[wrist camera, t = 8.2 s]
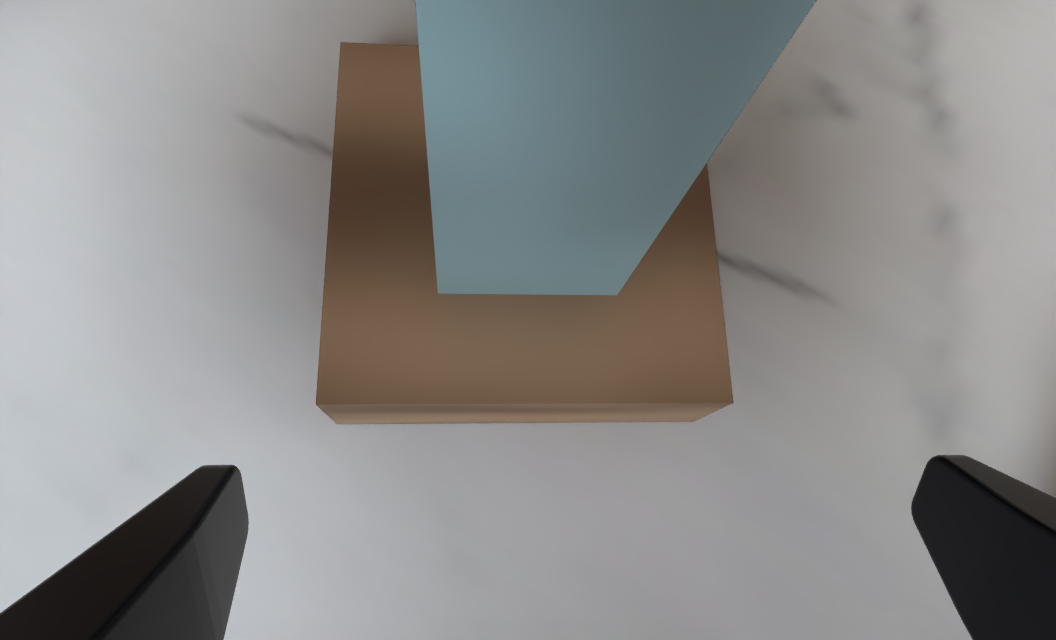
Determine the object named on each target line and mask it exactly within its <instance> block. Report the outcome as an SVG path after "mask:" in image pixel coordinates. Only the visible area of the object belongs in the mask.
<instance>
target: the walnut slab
mask: <svg viewBox="0 0 1056 640" xmlns="http://www.w3.org/2000/svg"><path fill="white" fill-rule="evenodd" d="M732 403H733V395H732V386H731V377H730V368H729V359H728V350H727V341H726V332H725V323H724V314H723V305H722V296H721V287H720V278H719V269H718V260H717V251H716V242H715V233H714V224H713V215H712V206H711V197H710V188H709V179H708V170H707V163H706V164H705V166H704V167H703V169H702V170H701V172H700V173H699V175H698V176H697V178H696V179H695V181H694V182H693V184H692V185H691V187H690V188H689V190H688V191H687V193H686V194H685V196H684V197H683V198H682V200H681V201H680V203H679V204H678V206H677V207H676V209H675V210H674V212H673V213H672V215H671V216H670V218H669V219H668V221H667V222H666V224H665V225H664V227H663V228H662V230H661V231H660V232H659V234H658V235H657V237H656V238H655V240H654V241H653V243H652V244H651V246H650V247H649V249H648V250H647V252H646V253H645V255H644V256H643V258H642V259H641V261H640V262H639V264H638V265H637V266H636V268H635V269H634V271H633V272H632V274H631V275H630V277H629V278H628V280H627V281H626V283H625V284H624V286H623V287H622V289H621V290H620V292H619V293H618V295H525V294H438V288H437V275H436V262H435V249H434V236H433V223H432V210H431V197H430V184H429V171H428V159H427V146H426V133H425V120H424V107H423V94H422V81H421V68H420V55H419V46H409V45H388V44H367V43H346V42H341V46H340V61H339V75H338V90H337V104H336V119H335V133H334V148H333V162H332V177H331V191H330V206H329V220H328V235H327V250H326V264H325V279H324V293H323V308H322V322H321V337H320V351H319V366H318V380H317V395H316V405H317V406H318V407H319V408H320V409H321V410H322V411H323V412H324V413H326V414H327V415H328V416H329V417H330V418H331V419H332V420H333V421H334V422H335V423H337V424H420V423H556V422H692V421H695V420H698V419H700V418H702V417H704V416H706V415H708V414H710V413H712V412H715V411H717V410H719V409H721V408H723V407H725V406H727V405H730V404H732Z"/></svg>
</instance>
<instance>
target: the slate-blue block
mask: <svg viewBox="0 0 1056 640" xmlns="http://www.w3.org/2000/svg"><path fill="white" fill-rule="evenodd" d="M815 2H816V0H415V3H416V16H417V29H418V42H419V55H420V68H421V81H422V94H423V107H424V120H425V133H426V146H427V159H428V171H429V184H430V197H431V210H432V223H433V236H434V249H435V262H436V275H437V288H438V294H525V295H618V293H619V292H620V290H621V289H622V287H623V286H624V284H625V283H626V281H627V280H628V278H629V277H630V275H631V274H632V272H633V271H634V269H635V268H636V266H637V265H638V264H639V262H640V261H641V259H642V258H643V256H644V255H645V253H646V252H647V250H648V249H649V247H650V246H651V244H652V243H653V241H654V240H655V238H656V237H657V235H658V234H659V232H660V231H661V230H662V228H663V227H664V225H665V224H666V222H667V221H668V219H669V218H670V216H671V215H672V213H673V212H674V210H675V209H676V207H677V206H678V204H679V203H680V201H681V200H682V198H683V197H684V196H685V194H686V193H687V191H688V190H689V188H690V187H691V185H692V184H693V182H694V181H695V179H696V178H697V176H698V175H699V173H700V172H701V170H702V169H703V167H704V166H705V164H706V163H707V162H708V160H709V159H710V157H711V156H712V154H713V153H714V151H715V150H716V148H717V147H718V145H719V144H720V142H721V141H722V139H723V138H724V136H725V135H726V133H727V132H728V130H729V129H730V128H731V126H732V125H733V123H734V122H735V120H736V119H737V117H738V116H739V114H740V113H741V111H742V110H743V108H744V107H745V105H746V104H747V102H748V101H749V99H750V98H751V96H752V95H753V94H754V92H755V91H756V89H757V88H758V86H759V85H760V83H761V82H762V80H763V79H764V77H765V76H766V74H767V73H768V71H769V70H770V68H771V67H772V65H773V64H774V62H775V61H776V60H777V58H778V57H779V55H780V54H781V52H782V51H783V49H784V48H785V46H786V45H787V43H788V42H789V40H790V39H791V37H792V36H793V34H794V33H795V31H796V30H797V28H798V27H799V26H800V24H801V23H802V21H803V20H804V18H805V17H806V15H807V14H808V12H809V11H810V9H811V8H812V6H813V5H814V3H815Z"/></svg>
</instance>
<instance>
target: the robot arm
mask: <svg viewBox="0 0 1056 640" xmlns="http://www.w3.org/2000/svg"><path fill="white" fill-rule="evenodd" d="M911 510H912V516H913V520H914V522H915V525H916V527H917V529H918V531H919V533H920V535H921V537H922V539H923V541H924V543H925V545H926V547H927V549H928V551H929V554H930V556H931V558H932V560H933V562H934V564H935V566H936V568H937V570H938V572H939V574H940V576H941V578H942V580H943V583H944V585H945V587H946V589H947V591H948V593H949V595H950V597H951V599H952V601H953V603H954V605H955V607H956V609H957V611H958V613H959V615H960V617H961V619H962V621H963V623H964V625H965V627H966V628H967V630H968V632H969V634H970V635H971V637H972V639H973V640H1056V498H1054V497H1052V496H1050V495H1048V494H1046V493H1044V492H1042V491H1040V490H1037V489H1035V488H1033V487H1031V486H1029V485H1027V484H1025V483H1023V482H1021V481H1019V480H1016V479H1014V478H1012V477H1010V476H1008V475H1006V474H1004V473H1002V472H1000V471H997V470H995V469H993V468H991V467H989V466H987V465H985V464H983V463H981V462H979V461H976V460H974V459H972V458H970V457H968V456H964V455H938V456H934V457H932V458H931V459H930V460H929V461H928V462H927V464H926V467H925V469H924V472H923V474H922V477H921V480H920V482H919V485H918V487H917V490H916V492H915V495H914V498H913V500H912V506H911ZM248 524H249V522H248V512H247V506H246V500H245V494H244V488H243V482H242V477H241V473H240V471H239V469H238V468H237V467H236V466H234V465H205V466H201V467H199V468H198V469H196V470H195V471H193V472H192V473H191V474H189V475H188V476H187V477H185V478H184V479H183V480H181V481H180V482H178V483H177V484H176V485H174V486H173V487H172V488H170V489H169V490H168V491H166V492H165V493H163V494H162V495H161V496H159V497H158V498H157V499H155V500H154V501H153V502H151V503H150V504H148V505H147V506H146V507H144V508H143V509H142V510H140V511H139V512H138V513H136V514H135V515H133V516H132V517H131V518H129V519H128V520H127V521H125V522H124V523H123V524H121V525H120V526H118V527H117V528H116V529H114V530H113V531H112V532H110V533H109V534H108V535H106V536H105V537H103V538H102V539H101V540H99V541H98V542H97V543H95V544H94V545H93V546H91V547H90V548H88V549H87V550H86V551H84V552H83V553H82V554H80V555H79V556H78V557H76V558H75V559H73V560H72V561H71V562H69V563H68V564H67V565H65V566H64V567H63V568H61V569H60V570H58V571H57V572H56V573H54V574H53V575H52V576H50V577H49V578H48V579H46V580H45V581H43V582H42V583H41V584H39V585H38V586H37V587H35V588H34V589H33V590H31V591H30V592H28V593H27V594H26V595H24V596H23V597H22V598H20V599H19V600H18V601H16V602H15V603H13V604H12V605H11V606H9V607H8V608H7V609H5V610H4V611H3V612H1V613H0V640H223V639H224V635H225V631H226V626H227V622H228V618H229V613H230V609H231V605H232V600H233V596H234V592H235V587H236V583H237V579H238V574H239V570H240V566H241V561H242V557H243V553H244V548H245V544H246V539H247V535H248Z"/></svg>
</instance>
